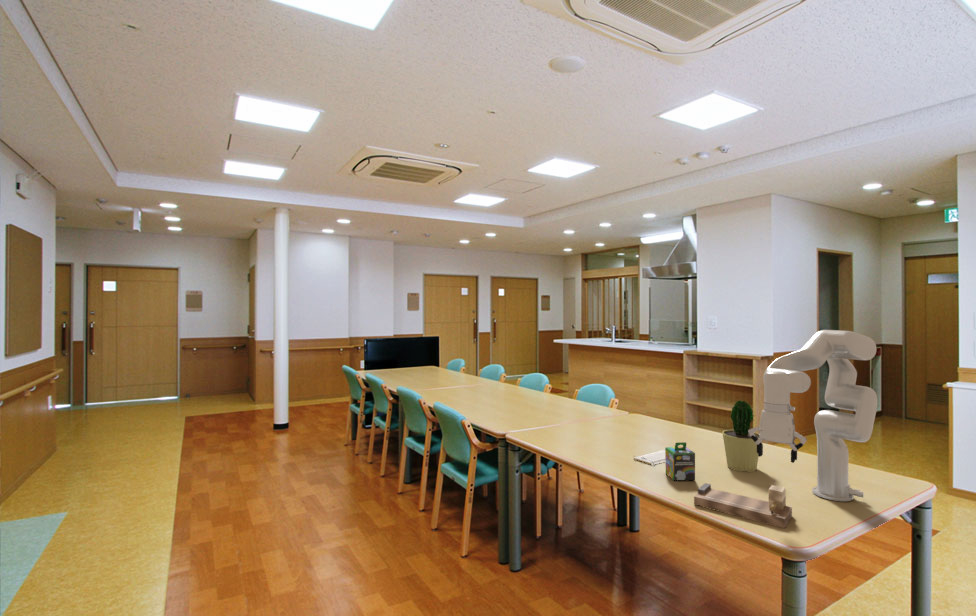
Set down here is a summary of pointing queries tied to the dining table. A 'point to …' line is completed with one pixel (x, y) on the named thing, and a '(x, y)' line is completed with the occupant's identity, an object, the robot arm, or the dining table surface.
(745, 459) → the potted cactus
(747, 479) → the dining table surface
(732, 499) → the walnut board
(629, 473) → the dining table surface
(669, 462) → the chalk box
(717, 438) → the dining table surface
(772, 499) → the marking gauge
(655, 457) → the baseboard molding
